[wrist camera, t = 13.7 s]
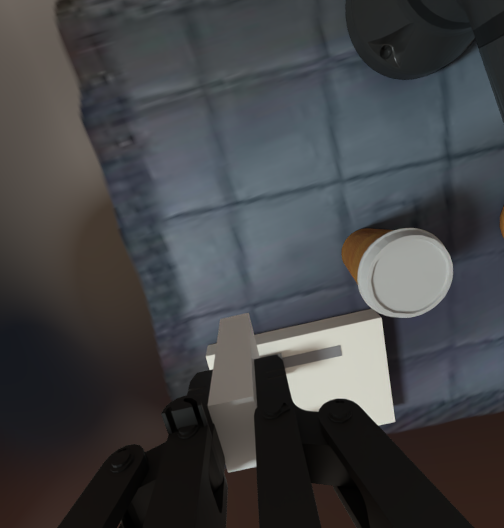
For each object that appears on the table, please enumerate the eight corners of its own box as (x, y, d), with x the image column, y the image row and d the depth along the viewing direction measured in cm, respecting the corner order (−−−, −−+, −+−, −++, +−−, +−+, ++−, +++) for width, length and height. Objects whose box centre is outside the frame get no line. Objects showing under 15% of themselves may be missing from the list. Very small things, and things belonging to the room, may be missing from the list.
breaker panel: (372, 308, 45) (381, 317, 42) (386, 407, 50) (395, 422, 47) (207, 345, 46) (205, 356, 43) (235, 439, 50) (235, 456, 47)
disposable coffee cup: (392, 206, 42) (450, 216, 30) (405, 273, 44) (463, 306, 32) (321, 228, 42) (352, 247, 30) (338, 293, 44) (373, 333, 33)
